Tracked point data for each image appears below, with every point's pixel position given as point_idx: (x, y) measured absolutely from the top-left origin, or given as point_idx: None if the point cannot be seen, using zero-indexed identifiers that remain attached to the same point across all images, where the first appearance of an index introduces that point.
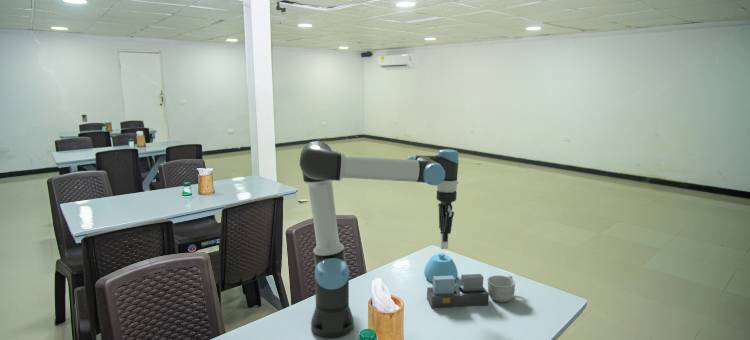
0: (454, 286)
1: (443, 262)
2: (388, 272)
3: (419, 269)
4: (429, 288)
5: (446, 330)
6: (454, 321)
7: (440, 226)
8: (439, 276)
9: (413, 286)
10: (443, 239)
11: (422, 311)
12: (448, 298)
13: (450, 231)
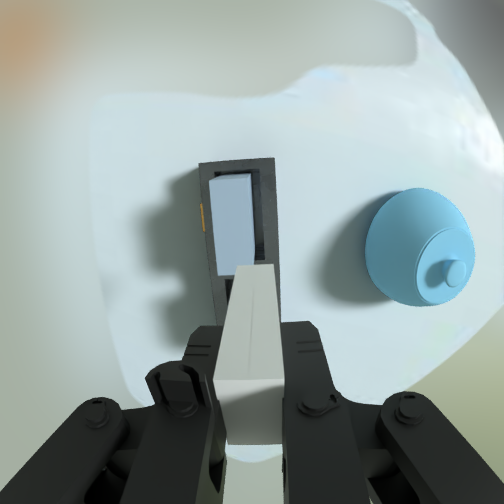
0: (277, 266)
1: (414, 267)
2: (449, 84)
3: (463, 189)
4: (266, 165)
5: (100, 189)
6: (139, 219)
7: (384, 437)
8: (243, 210)
9: (363, 132)
10: (212, 339)
11: (191, 131)
12: (202, 224)
13: (106, 473)
